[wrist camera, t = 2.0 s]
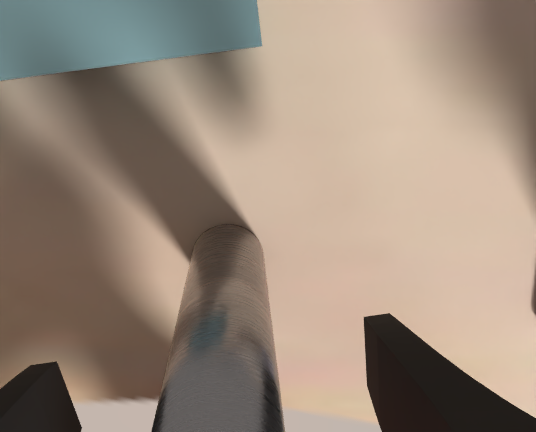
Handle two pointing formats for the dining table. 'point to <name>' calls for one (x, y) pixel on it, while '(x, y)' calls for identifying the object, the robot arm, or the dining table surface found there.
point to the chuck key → (222, 343)
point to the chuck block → (118, 32)
